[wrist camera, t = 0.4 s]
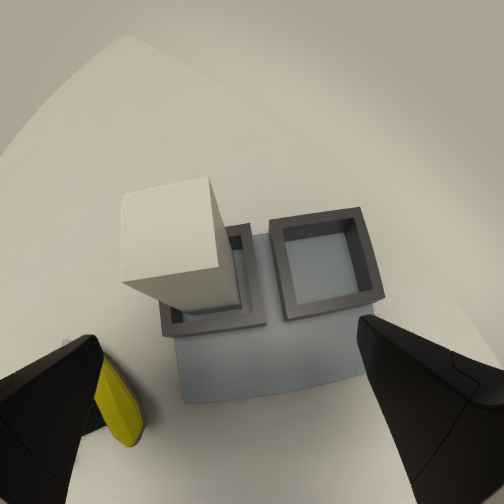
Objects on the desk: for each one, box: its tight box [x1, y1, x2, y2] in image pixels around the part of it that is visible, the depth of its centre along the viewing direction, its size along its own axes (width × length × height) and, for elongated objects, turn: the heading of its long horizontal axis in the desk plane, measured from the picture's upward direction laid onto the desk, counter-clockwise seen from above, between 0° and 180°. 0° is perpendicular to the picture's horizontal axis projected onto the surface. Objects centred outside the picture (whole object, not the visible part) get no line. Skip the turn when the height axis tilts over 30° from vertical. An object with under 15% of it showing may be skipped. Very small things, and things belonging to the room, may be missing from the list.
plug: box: [120, 176, 242, 316], centre depth 17 cm, size 4×4×12 cm
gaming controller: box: [63, 339, 147, 447], centre depth 18 cm, size 15×6×10 cm
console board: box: [159, 207, 385, 404], centre depth 21 cm, size 13×16×4 cm
